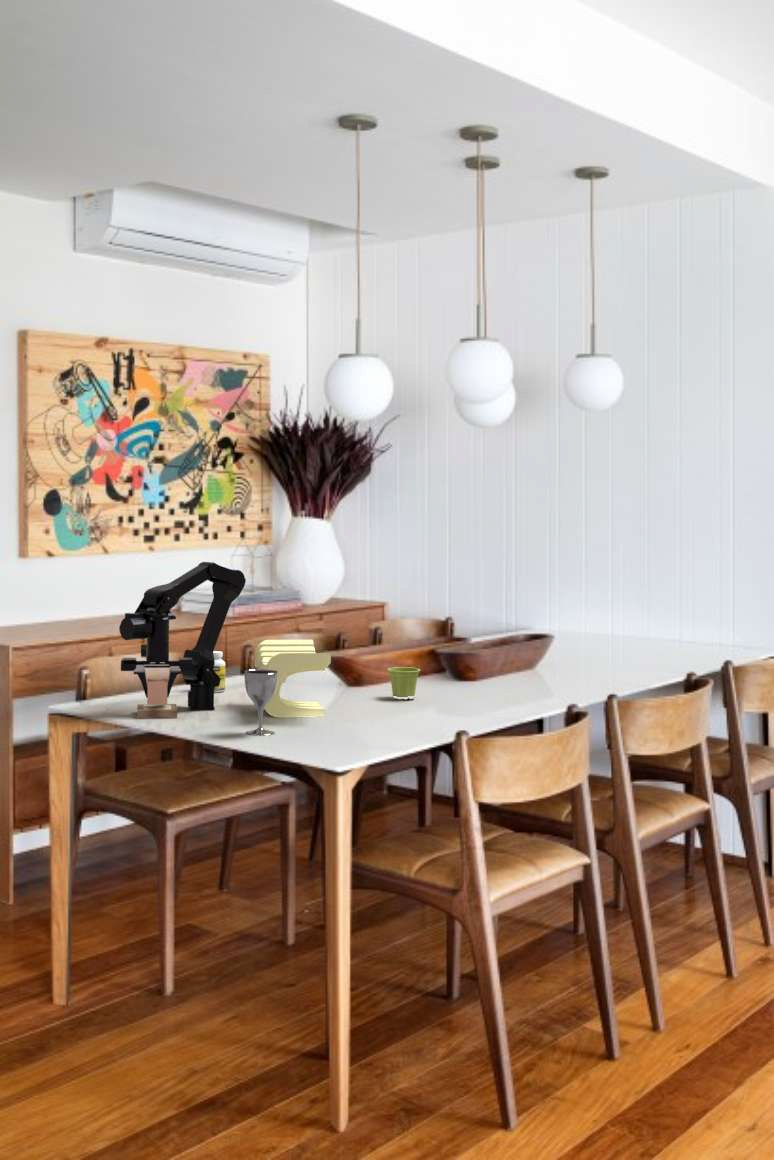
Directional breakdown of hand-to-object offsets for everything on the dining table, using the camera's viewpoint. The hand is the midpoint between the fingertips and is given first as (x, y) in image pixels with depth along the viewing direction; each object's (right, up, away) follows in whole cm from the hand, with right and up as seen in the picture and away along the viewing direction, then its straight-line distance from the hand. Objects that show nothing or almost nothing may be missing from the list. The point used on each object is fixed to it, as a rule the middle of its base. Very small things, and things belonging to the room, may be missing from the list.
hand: (157, 697), depth 336 cm
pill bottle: (+9, -2, +42) cm, 43 cm away
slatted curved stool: (+34, -5, +8) cm, 35 cm away
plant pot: (+64, -4, +36) cm, 74 cm away
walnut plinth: (0, -5, 0) cm, 5 cm away
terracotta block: (0, -2, 0) cm, 2 cm away
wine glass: (+29, -7, -22) cm, 37 cm away
